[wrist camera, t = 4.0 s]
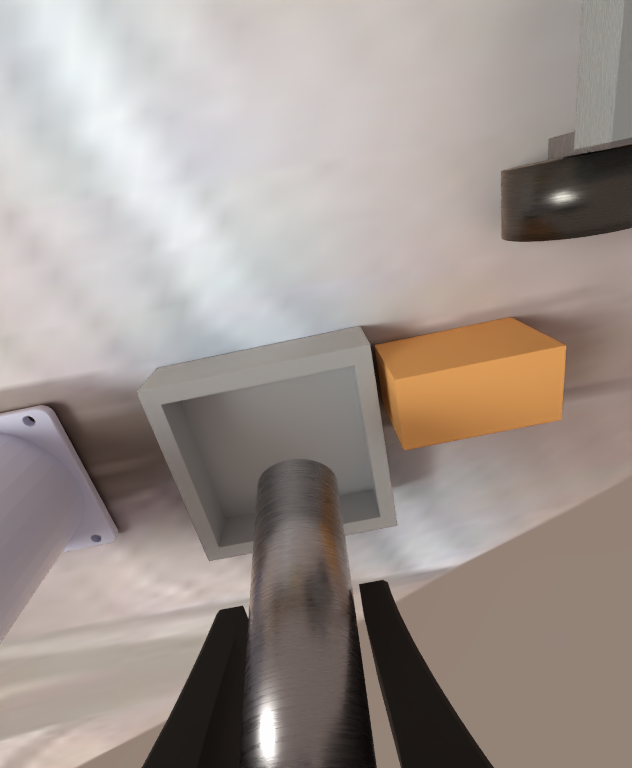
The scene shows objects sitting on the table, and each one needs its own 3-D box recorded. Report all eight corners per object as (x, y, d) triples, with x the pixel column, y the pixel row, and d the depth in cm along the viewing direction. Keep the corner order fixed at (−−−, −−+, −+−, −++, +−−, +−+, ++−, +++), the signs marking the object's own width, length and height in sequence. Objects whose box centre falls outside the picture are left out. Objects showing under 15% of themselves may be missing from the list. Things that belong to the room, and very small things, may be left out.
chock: (382, 403, 19) (403, 450, 15) (373, 344, 18) (394, 380, 14) (509, 378, 19) (561, 419, 15) (509, 316, 17) (566, 345, 14)
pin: (262, 526, 13) (242, 962, 7) (227, 462, 11) (150, 988, 5) (358, 507, 13) (436, 943, 6) (339, 438, 11) (423, 963, 4)
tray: (218, 522, 21) (208, 561, 19) (157, 367, 17) (136, 392, 15) (385, 490, 21) (397, 525, 18) (359, 325, 17) (370, 344, 15)
